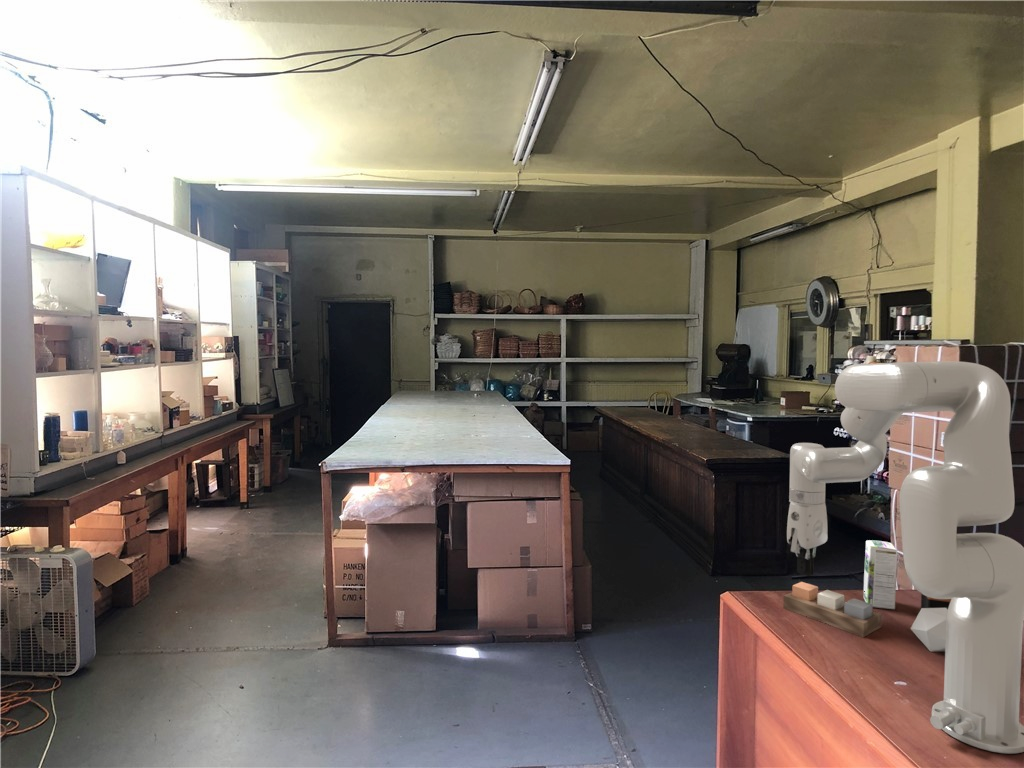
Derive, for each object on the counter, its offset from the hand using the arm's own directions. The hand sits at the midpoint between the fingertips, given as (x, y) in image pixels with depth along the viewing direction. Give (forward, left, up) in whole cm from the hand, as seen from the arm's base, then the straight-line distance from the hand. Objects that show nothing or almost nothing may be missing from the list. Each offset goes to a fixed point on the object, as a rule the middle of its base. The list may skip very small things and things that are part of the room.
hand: (805, 573), depth 143 cm
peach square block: (0, 0, -6) cm, 6 cm away
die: (+8, -25, -9) cm, 28 cm away
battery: (+21, -17, -9) cm, 28 cm away
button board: (+1, -6, -8) cm, 10 cm away
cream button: (+1, -6, -6) cm, 9 cm away
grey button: (+2, -12, -6) cm, 14 cm away
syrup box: (+18, -6, -9) cm, 21 cm away
